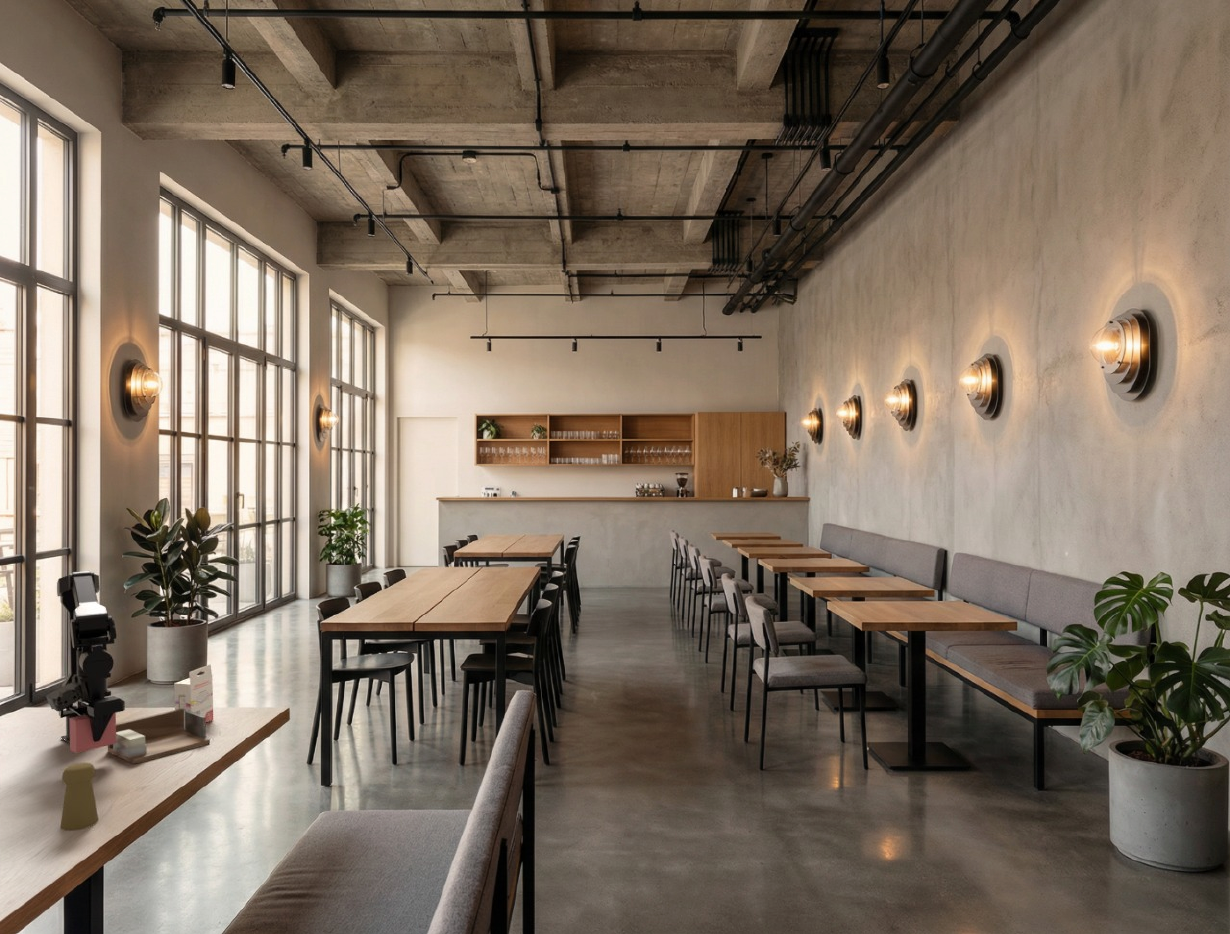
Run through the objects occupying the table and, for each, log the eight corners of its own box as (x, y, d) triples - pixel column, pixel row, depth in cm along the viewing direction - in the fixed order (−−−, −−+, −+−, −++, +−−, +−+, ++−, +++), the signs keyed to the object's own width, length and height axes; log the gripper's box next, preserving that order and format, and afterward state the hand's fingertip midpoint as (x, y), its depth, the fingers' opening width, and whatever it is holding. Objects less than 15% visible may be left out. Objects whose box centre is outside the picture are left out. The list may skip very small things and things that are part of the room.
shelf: (107, 751, 199) (107, 725, 199) (181, 732, 212) (181, 708, 212) (134, 764, 190) (133, 737, 190) (209, 743, 204) (209, 718, 204)
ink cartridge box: (197, 719, 224) (196, 663, 223) (214, 720, 223) (213, 663, 222) (174, 729, 215) (173, 671, 215) (191, 730, 214) (190, 671, 214)
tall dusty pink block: (70, 749, 187) (69, 718, 187) (109, 740, 194) (109, 709, 194) (76, 753, 185) (75, 720, 185) (116, 743, 191) (115, 712, 191)
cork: (71, 817, 162) (70, 759, 162) (104, 816, 163) (104, 758, 162) (53, 831, 156) (52, 771, 156) (88, 829, 157) (87, 769, 156)
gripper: (34, 670, 189) (35, 741, 189) (67, 683, 177) (69, 758, 177) (90, 660, 197) (91, 728, 198) (125, 672, 186) (126, 744, 186)
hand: (93, 739), depth 189 cm, fingers closed on tall dusty pink block, 3 cm apart
